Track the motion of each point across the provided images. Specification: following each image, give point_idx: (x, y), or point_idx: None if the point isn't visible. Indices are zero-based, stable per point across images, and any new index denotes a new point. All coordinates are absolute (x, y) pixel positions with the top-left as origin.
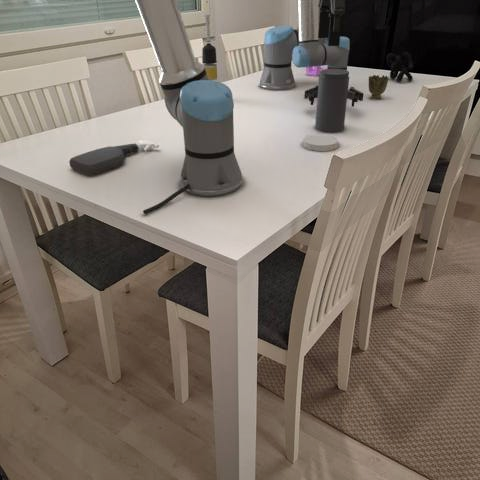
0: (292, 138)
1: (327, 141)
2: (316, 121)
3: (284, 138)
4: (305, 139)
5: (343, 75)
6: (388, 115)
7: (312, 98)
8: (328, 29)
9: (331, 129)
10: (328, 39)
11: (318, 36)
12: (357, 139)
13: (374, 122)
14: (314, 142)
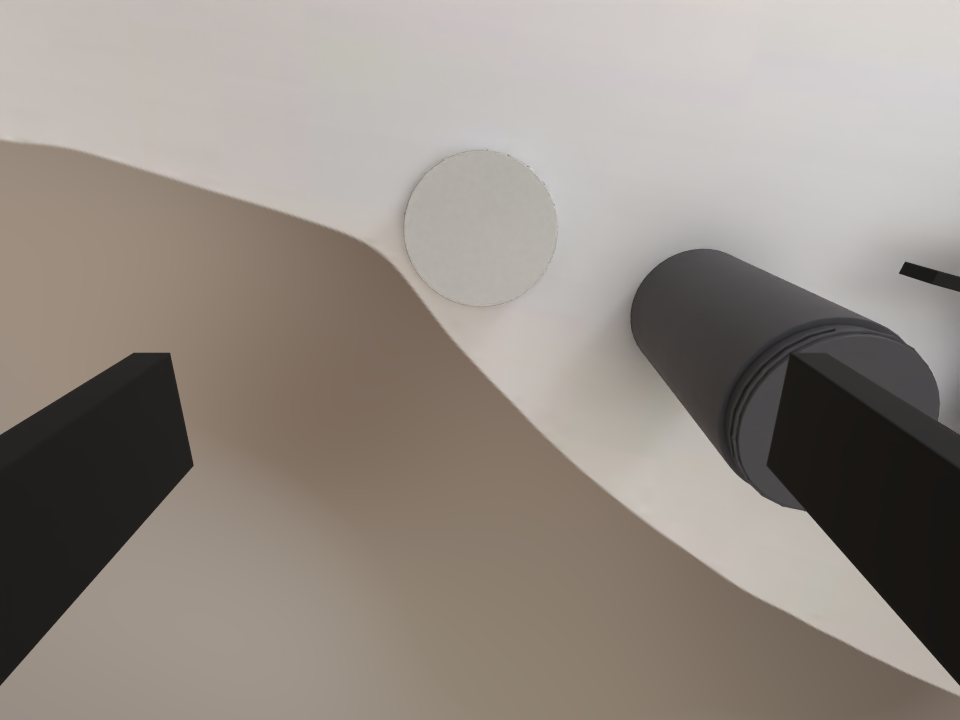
0: (585, 111)
1: (450, 257)
2: (707, 256)
3: (591, 68)
4: (484, 160)
5: (738, 461)
6: (797, 571)
7: (926, 276)
8: (819, 521)
9: (634, 311)
10: (123, 379)
11: (798, 360)
12: (534, 391)
13: (725, 502)
14: (441, 196)
